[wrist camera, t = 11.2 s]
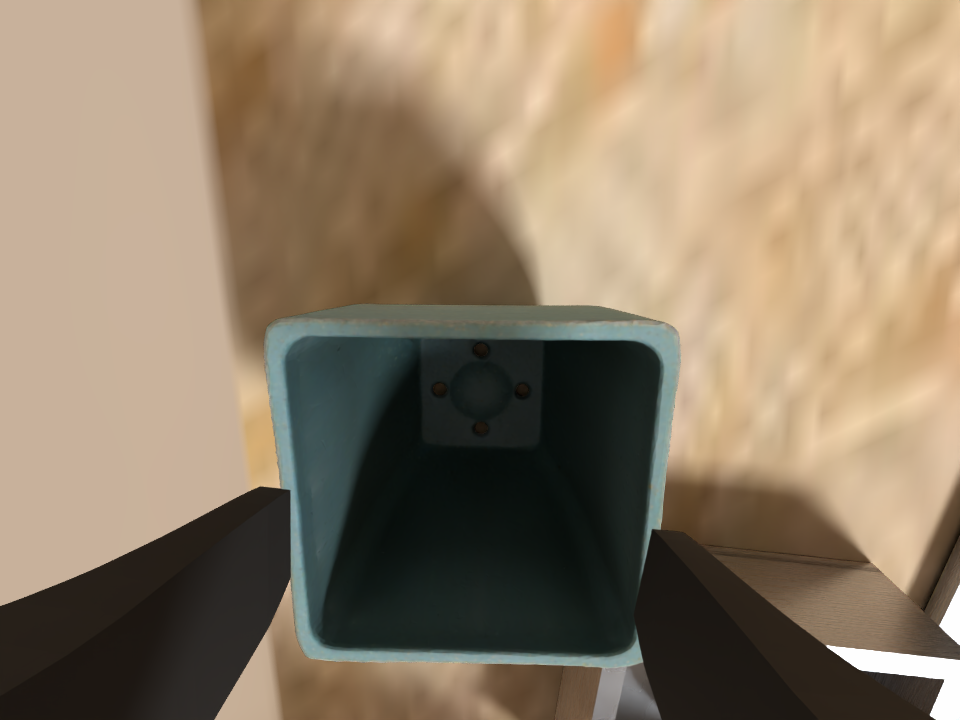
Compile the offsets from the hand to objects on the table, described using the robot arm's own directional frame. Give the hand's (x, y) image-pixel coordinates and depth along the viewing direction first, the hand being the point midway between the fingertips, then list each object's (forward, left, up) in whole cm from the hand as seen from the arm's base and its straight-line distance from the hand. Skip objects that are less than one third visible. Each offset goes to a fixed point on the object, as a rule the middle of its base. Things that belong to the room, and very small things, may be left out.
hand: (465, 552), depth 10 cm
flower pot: (0, 0, -11) cm, 11 cm away
